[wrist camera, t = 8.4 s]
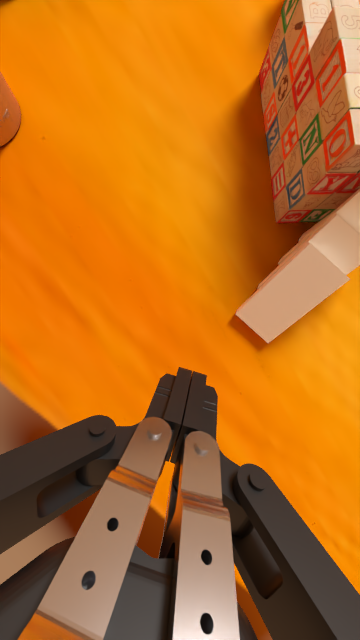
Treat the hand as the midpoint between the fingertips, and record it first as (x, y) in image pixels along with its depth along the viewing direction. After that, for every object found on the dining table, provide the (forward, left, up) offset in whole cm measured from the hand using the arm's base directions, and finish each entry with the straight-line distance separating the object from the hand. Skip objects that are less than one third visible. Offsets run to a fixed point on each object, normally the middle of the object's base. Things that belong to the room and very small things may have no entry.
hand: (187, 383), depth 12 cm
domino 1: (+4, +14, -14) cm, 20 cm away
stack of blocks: (-7, +31, -15) cm, 35 cm away
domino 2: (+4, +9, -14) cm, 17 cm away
